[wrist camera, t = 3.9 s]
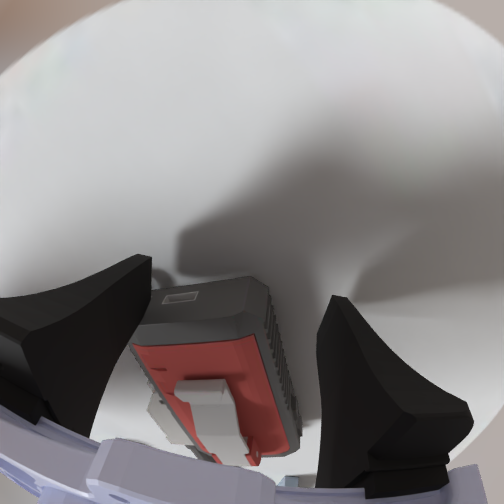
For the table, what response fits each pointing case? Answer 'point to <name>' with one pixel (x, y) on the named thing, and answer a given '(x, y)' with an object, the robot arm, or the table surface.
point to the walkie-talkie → (218, 372)
